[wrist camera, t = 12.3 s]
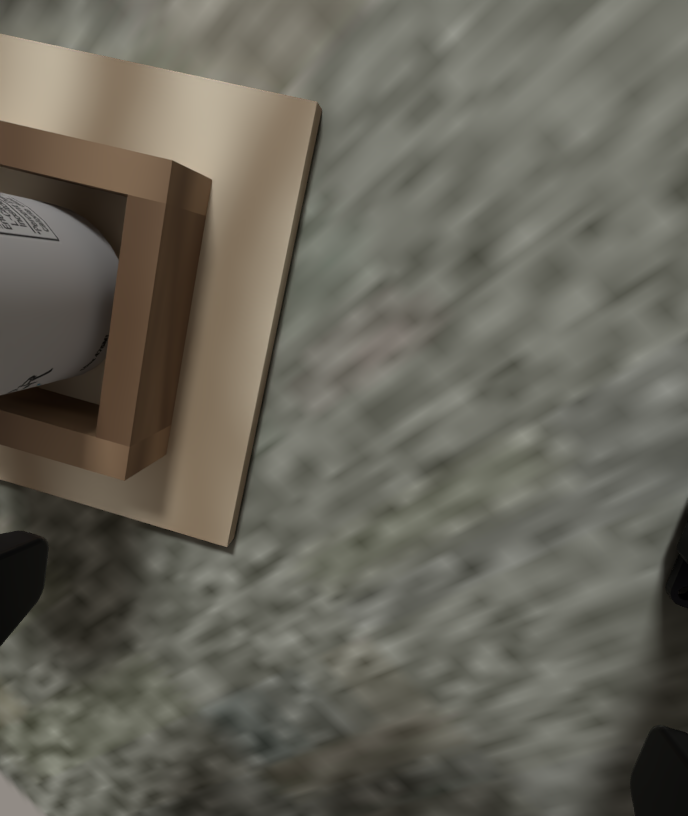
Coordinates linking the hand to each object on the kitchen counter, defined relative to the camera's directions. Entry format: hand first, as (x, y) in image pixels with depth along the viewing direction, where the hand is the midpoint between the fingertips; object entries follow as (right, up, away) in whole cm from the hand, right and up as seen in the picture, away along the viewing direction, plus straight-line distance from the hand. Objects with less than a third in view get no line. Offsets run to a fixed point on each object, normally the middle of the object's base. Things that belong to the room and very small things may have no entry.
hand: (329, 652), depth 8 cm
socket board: (-10, +8, +13) cm, 18 cm away
